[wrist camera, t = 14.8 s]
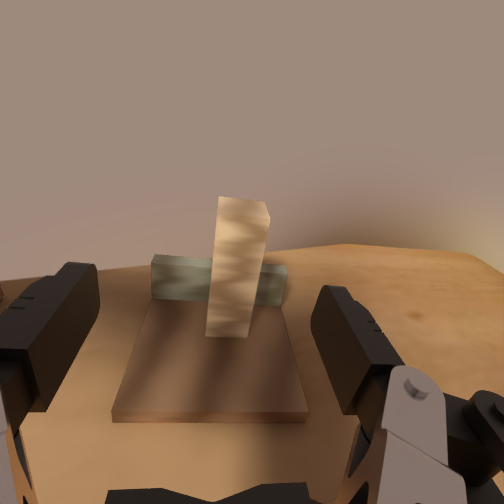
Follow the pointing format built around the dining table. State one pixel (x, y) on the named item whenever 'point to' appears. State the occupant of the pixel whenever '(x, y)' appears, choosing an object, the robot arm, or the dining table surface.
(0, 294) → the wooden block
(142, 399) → the floor board
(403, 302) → the dining table surface
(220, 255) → the batten
